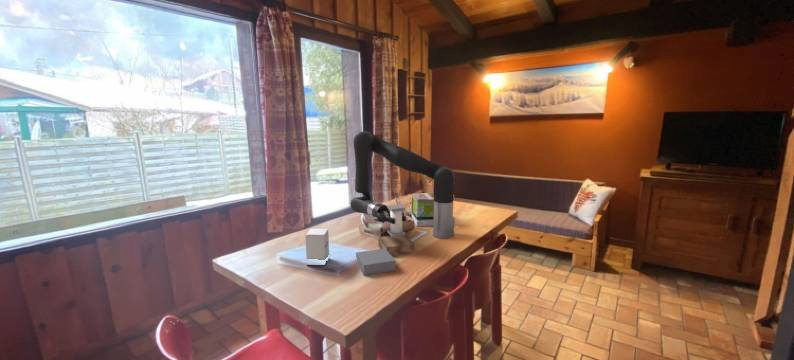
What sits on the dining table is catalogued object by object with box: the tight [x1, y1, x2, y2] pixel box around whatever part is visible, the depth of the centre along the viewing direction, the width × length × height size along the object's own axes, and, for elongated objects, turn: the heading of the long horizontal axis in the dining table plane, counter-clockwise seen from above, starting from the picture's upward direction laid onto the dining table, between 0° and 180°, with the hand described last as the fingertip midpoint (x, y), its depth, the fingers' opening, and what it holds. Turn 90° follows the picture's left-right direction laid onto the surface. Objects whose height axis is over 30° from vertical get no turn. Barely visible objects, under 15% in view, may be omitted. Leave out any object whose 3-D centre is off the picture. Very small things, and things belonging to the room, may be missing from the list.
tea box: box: [411, 192, 434, 227], centre depth 176 cm, size 15×10×15 cm
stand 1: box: [355, 248, 396, 277], centre depth 123 cm, size 12×12×4 cm
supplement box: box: [305, 228, 330, 260], centre depth 126 cm, size 7×7×13 cm
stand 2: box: [377, 234, 415, 257], centre depth 140 cm, size 12×12×4 cm
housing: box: [386, 203, 406, 237], centre depth 137 cm, size 6×6×12 cm
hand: (399, 220), depth 135 cm, fingers closed on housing, 5 cm apart
